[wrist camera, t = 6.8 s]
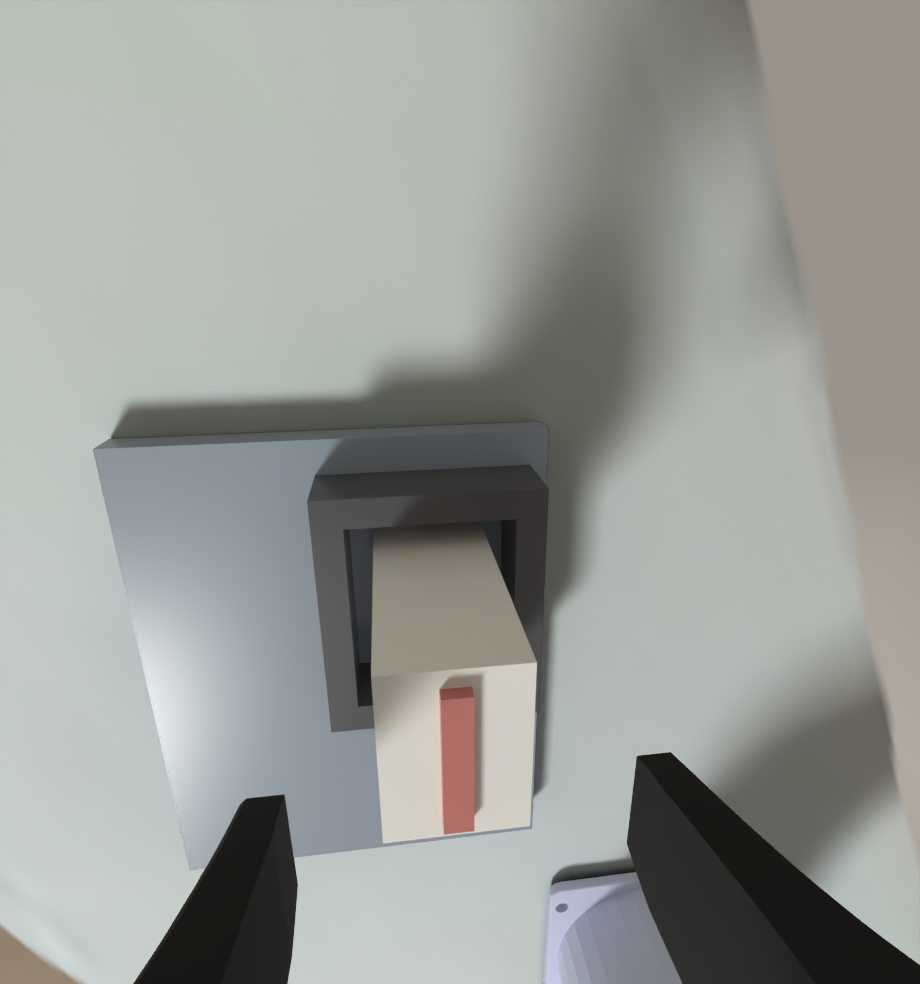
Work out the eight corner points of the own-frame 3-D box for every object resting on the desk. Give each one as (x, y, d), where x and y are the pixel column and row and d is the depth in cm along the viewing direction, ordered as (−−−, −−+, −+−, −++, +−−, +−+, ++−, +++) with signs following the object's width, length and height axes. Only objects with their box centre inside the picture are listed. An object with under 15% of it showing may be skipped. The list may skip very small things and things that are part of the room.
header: (523, 669, 20) (538, 712, 18) (335, 687, 19) (331, 732, 17) (529, 464, 17) (548, 488, 15) (314, 475, 16) (307, 501, 15)
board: (525, 805, 23) (536, 843, 22) (197, 844, 22) (184, 886, 20) (539, 421, 18) (554, 435, 16) (109, 439, 16) (82, 456, 15)
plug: (477, 634, 19) (533, 838, 12) (381, 642, 19) (383, 857, 12) (477, 516, 18) (541, 673, 11) (373, 522, 17) (371, 687, 10)
